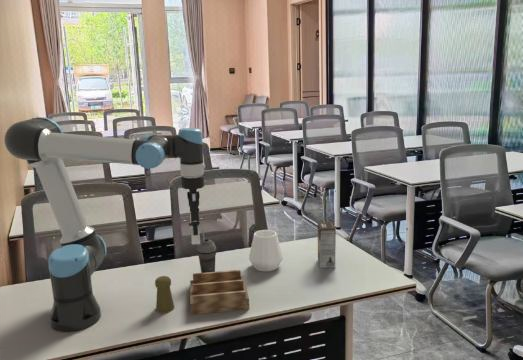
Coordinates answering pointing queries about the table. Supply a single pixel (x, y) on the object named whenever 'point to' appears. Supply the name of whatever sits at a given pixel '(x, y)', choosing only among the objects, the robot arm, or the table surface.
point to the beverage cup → (206, 255)
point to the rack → (218, 292)
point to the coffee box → (326, 244)
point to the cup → (265, 251)
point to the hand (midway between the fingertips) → (195, 236)
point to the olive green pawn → (164, 295)
